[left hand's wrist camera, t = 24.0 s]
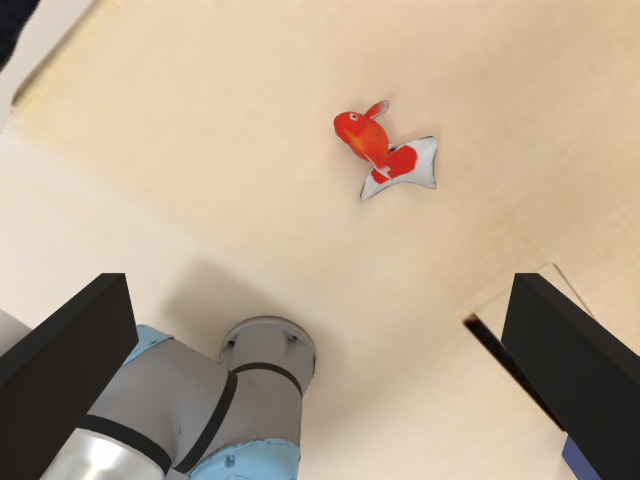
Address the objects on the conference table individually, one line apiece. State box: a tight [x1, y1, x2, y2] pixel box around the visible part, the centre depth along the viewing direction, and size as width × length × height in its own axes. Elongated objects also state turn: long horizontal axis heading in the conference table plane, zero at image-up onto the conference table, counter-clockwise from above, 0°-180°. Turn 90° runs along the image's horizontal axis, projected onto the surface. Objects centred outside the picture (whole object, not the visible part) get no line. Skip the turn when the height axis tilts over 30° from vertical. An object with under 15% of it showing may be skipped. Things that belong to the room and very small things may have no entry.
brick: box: [562, 435, 601, 480], centre depth 63 cm, size 9×5×11 cm, turn 0°
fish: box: [334, 101, 437, 203], centre depth 45 cm, size 11×16×10 cm
